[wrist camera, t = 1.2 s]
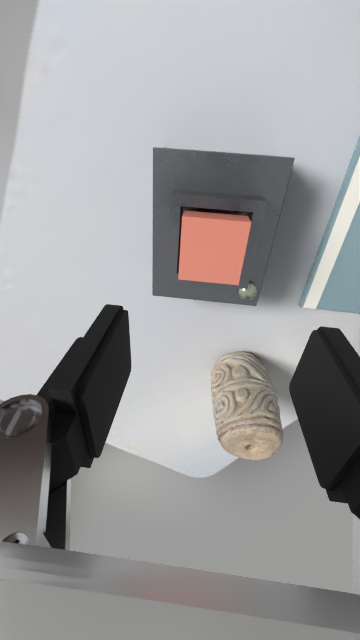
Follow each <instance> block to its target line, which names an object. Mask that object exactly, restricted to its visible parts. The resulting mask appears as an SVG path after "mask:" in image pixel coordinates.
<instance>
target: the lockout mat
mask: <svg viewBox="0 0 360 640" xmlns="http://www.w3.org/2000/svg"><path fill="white" fill-rule="evenodd" d="M299 306H300V307H303V308H311V309H323V310H333V311H343V312H353V313H360V137H359V140H358V143H357V146H356V148H355V151H354V154H353V157H352V159H351V162H350V165H349V168H348V170H347V173H346V176H345V179H344V181H343V184H342V187H341V190H340V192H339V195H338V198H337V201H336V203H335V206H334V209H333V212H332V214H331V217H330V220H329V223H328V225H327V228H326V231H325V234H324V236H323V239H322V242H321V245H320V247H319V250H318V253H317V256H316V258H315V261H314V264H313V267H312V269H311V272H310V275H309V278H308V280H307V283H306V286H305V289H304V291H303V294H302V297H301V300H300V302H299Z"/></svg>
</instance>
